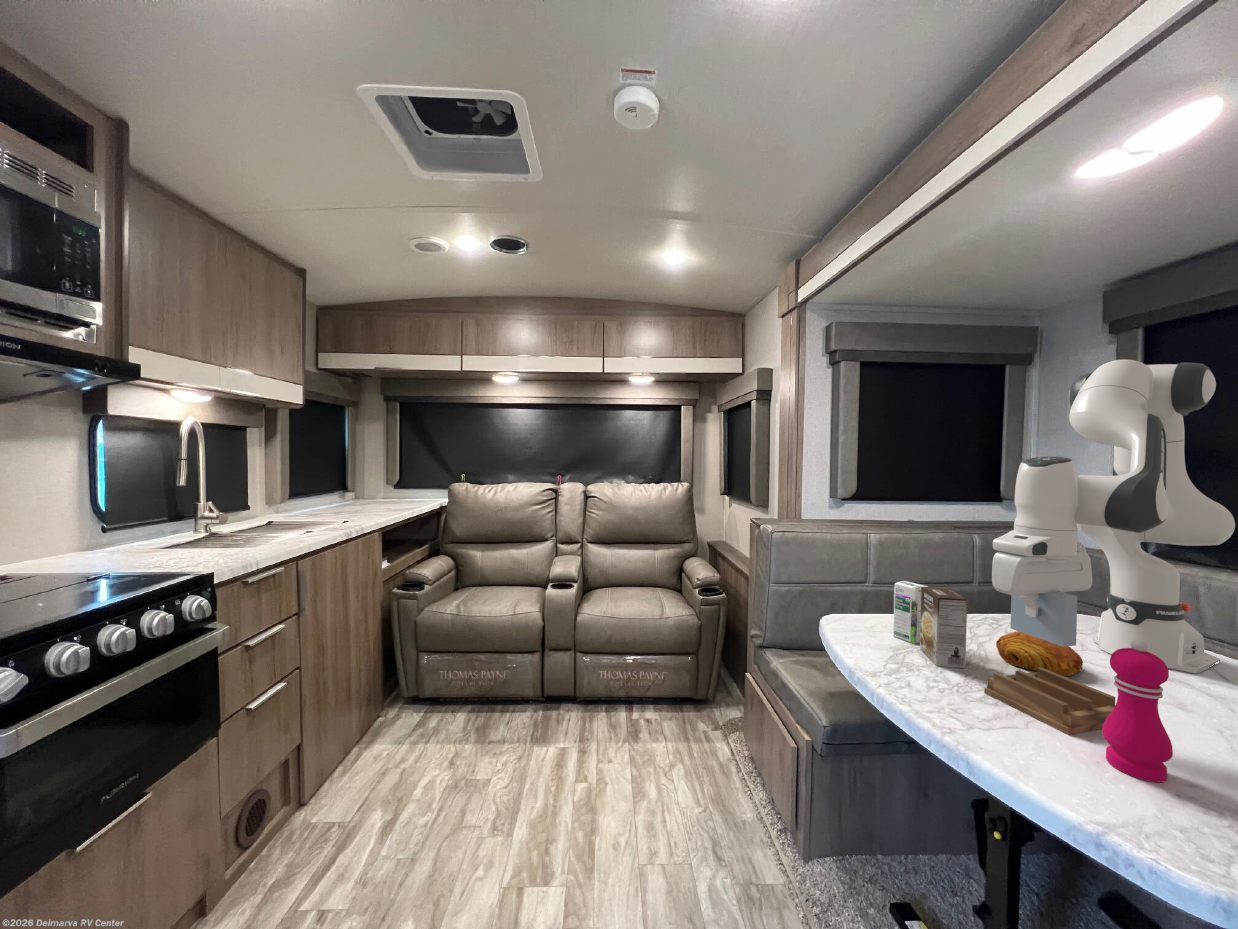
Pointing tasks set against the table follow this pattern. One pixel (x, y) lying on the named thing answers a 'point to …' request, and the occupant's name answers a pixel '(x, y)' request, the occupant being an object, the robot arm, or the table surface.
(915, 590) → the syrup box
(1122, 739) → the pepper mill
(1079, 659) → the croissant
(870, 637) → the table surface
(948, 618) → the coffee box
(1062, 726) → the rack
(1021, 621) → the tile
